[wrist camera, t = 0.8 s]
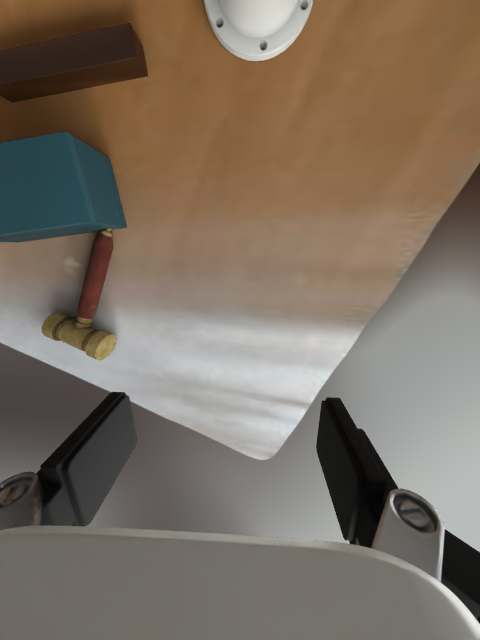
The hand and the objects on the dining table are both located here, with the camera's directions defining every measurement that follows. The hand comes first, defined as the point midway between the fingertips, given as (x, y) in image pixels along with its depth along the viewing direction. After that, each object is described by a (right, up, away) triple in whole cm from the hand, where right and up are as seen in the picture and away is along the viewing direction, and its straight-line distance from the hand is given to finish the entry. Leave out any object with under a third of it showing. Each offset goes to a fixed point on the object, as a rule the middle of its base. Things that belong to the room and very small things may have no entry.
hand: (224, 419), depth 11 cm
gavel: (-22, +10, +27) cm, 36 cm away
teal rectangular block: (-26, +22, +23) cm, 41 cm away
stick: (-20, +36, +18) cm, 45 cm away
